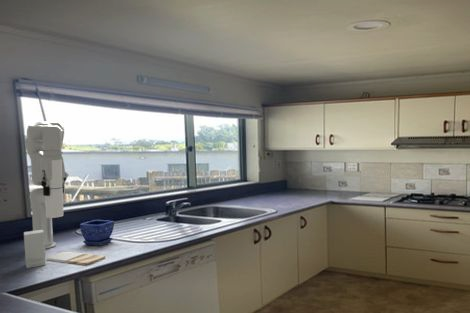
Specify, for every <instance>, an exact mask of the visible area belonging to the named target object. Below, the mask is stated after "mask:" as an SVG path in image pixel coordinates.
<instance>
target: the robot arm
mask: <svg viewBox="0 0 470 313" xmlns="http://www.w3.org/2000/svg"><path fill="white" fill-rule="evenodd" d="M26 136H27V137H26V138H25V140H24V143H25V149H26V151H27V154H28V157H29V159H30V166H31V167H30V169H31V181H32V184H33V185H34V186H40V188H38V187H37V188H35V189H34V188H33V190H31V191H30V193H29V200H30V207H31V215H32V216H31V217H32V231H36V230H43V232H44V246H45V250H46V249H50V248H54V247H56V246H57V242H55V241H54V235H53V234H54V232H53V218H47V217H46V207H45V196H50V187H48V185H49V183H50V180H51V178H52V160H60V159H62V186H63V204H64V203H65V201H66V181H67V179H68V177H69V173H67V172H66V170H65V169H66V168H65V161H64V158H63V150H62V148H63V142H64V137H65V127H64V125H63V124H62V123H61V122H60V121H38V122H35V123H34V124H29V125H28V126H27V129H26ZM50 162H51V163H50ZM44 176H46V178H47V179H45V177H44ZM46 181H47V182H46Z"/></svg>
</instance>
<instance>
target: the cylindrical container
mask: <svg viewBox="0 0 470 313" xmlns="http://www.w3.org/2000/svg"><path fill="white" fill-rule="evenodd" d="M50 163H51V162H50ZM44 177H45V179H47V178H46V176H44ZM46 182H47V181H46ZM48 187H50V196H45V207H46V217H47V218H52V219H55V218H60V217H63V216H64V203H63V186H62V159H60V160H52V178H51V180H50V183H49V185H48Z"/></svg>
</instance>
